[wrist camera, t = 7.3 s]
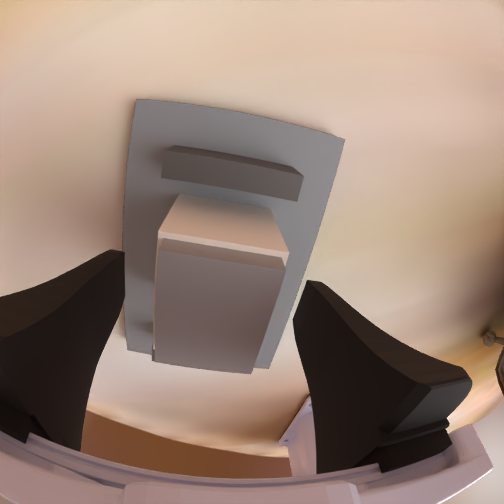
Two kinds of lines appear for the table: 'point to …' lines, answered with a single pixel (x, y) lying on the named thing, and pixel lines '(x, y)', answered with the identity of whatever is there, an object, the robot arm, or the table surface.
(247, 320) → the connector plug
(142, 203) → the board
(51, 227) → the table surface
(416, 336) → the table surface
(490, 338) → the tabletop clock
